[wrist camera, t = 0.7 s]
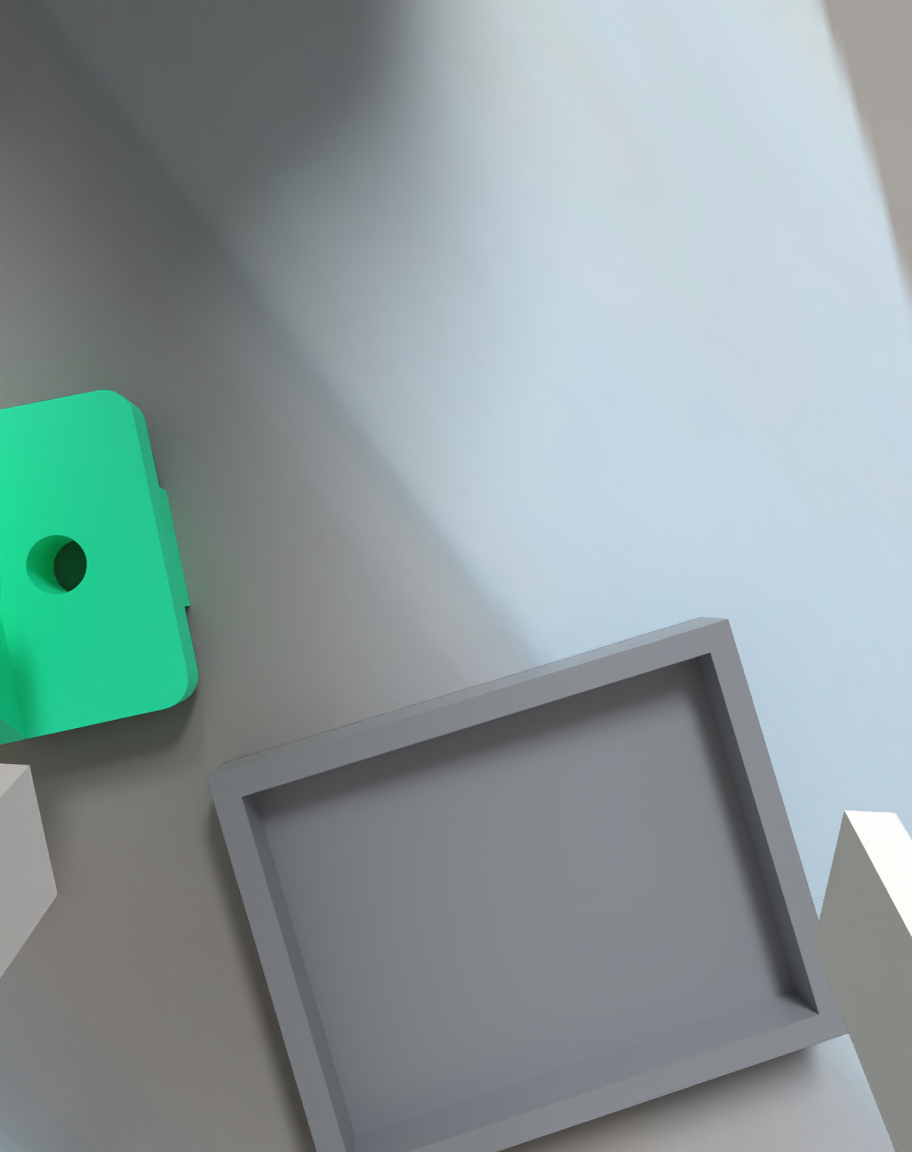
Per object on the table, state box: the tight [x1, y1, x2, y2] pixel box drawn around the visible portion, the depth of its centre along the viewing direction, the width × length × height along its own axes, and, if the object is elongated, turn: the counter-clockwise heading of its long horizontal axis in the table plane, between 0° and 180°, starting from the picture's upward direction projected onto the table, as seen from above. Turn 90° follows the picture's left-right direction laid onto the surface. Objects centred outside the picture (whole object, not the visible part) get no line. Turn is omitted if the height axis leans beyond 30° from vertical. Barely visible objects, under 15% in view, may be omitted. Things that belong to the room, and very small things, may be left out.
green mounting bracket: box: [0, 390, 198, 745], centre depth 29 cm, size 12×8×10 cm, turn 12°
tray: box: [207, 617, 849, 1152], centre depth 33 cm, size 16×20×3 cm
